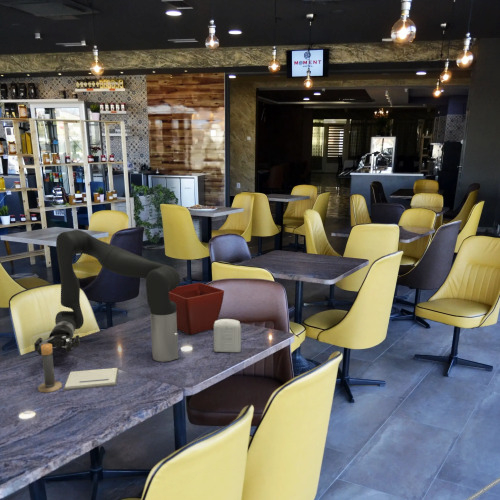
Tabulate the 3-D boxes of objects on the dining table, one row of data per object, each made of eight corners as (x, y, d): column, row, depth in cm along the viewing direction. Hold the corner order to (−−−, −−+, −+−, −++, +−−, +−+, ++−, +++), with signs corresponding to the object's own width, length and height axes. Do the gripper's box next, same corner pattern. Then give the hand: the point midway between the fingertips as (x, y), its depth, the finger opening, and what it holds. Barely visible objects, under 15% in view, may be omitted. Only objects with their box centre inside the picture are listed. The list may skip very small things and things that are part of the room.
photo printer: (241, 348, 186) (241, 317, 184) (240, 353, 182) (240, 321, 180) (214, 348, 187) (213, 317, 185) (213, 352, 183) (212, 321, 181)
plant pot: (200, 318, 223) (199, 281, 220) (226, 328, 209) (225, 290, 205) (163, 327, 211) (162, 289, 208) (187, 339, 197) (186, 298, 193)
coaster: (63, 381, 160) (63, 380, 160) (59, 391, 153) (59, 389, 153) (40, 383, 159) (40, 382, 159) (36, 393, 152) (35, 392, 152)
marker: (56, 383, 158) (52, 343, 156) (54, 387, 155) (50, 346, 152) (45, 384, 157) (42, 343, 155) (43, 388, 154) (39, 347, 152)
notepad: (118, 370, 169) (118, 367, 168) (116, 385, 157) (116, 382, 157) (69, 374, 166) (69, 371, 165) (63, 390, 154) (63, 387, 154)
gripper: (40, 325, 177) (29, 342, 162) (81, 323, 180) (75, 338, 164) (42, 345, 179) (32, 363, 163) (83, 342, 181) (77, 359, 166)
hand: (53, 351), depth 164 cm, fingers open, 8 cm apart
